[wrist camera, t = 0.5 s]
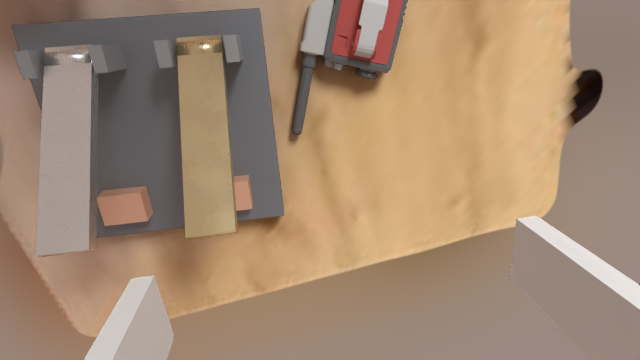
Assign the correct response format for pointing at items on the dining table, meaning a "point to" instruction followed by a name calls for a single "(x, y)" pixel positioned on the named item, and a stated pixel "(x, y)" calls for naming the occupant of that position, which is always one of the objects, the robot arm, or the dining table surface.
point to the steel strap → (68, 153)
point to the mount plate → (164, 112)
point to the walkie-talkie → (348, 40)
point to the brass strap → (205, 138)
